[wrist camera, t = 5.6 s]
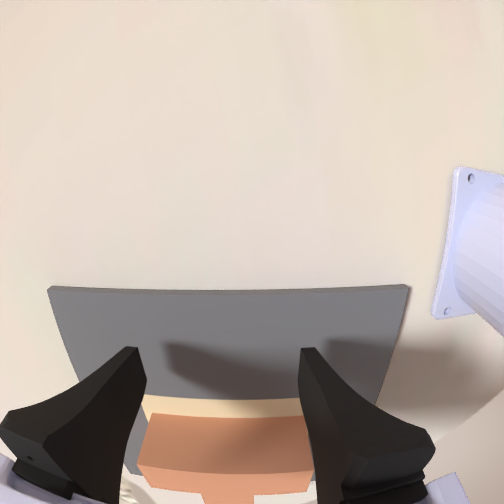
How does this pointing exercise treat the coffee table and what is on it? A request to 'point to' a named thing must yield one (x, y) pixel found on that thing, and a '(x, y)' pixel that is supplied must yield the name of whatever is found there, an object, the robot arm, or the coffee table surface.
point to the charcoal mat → (230, 345)
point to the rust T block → (227, 456)
